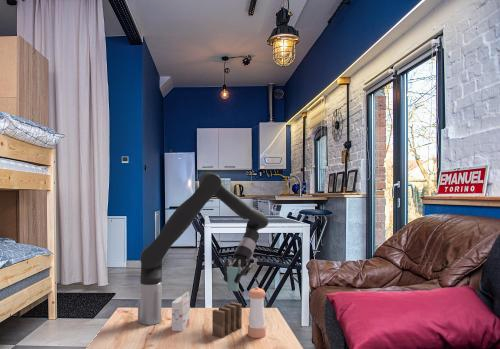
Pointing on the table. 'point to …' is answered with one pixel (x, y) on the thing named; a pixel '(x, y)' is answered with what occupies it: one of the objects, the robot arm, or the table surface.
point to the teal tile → (232, 279)
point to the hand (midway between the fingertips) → (230, 281)
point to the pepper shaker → (256, 313)
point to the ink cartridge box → (180, 313)
